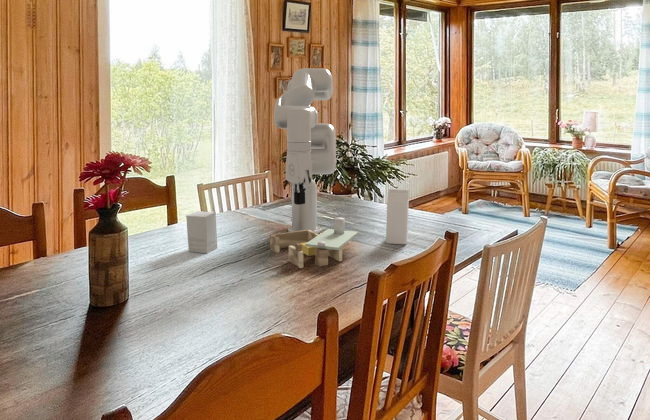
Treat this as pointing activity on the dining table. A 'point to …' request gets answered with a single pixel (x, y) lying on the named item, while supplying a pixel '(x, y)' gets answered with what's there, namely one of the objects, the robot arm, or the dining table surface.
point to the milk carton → (397, 216)
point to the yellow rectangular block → (308, 249)
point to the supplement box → (201, 231)
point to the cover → (333, 236)
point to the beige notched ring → (296, 252)
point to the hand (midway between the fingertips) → (299, 203)
